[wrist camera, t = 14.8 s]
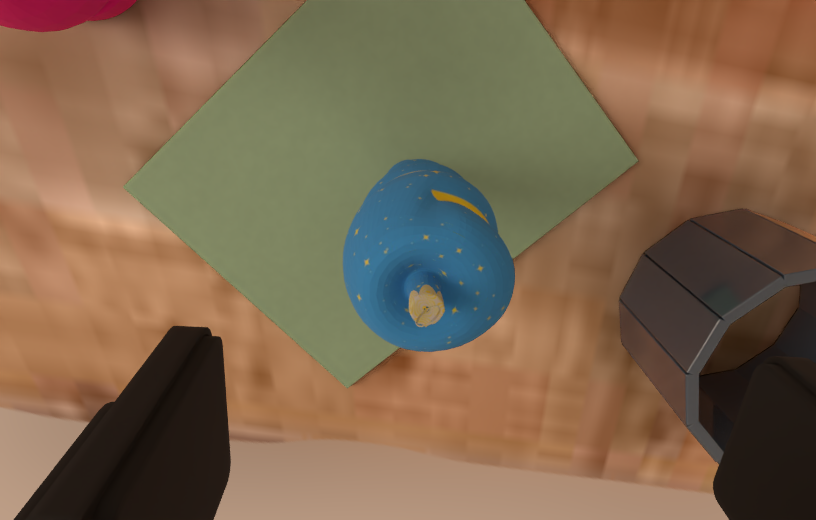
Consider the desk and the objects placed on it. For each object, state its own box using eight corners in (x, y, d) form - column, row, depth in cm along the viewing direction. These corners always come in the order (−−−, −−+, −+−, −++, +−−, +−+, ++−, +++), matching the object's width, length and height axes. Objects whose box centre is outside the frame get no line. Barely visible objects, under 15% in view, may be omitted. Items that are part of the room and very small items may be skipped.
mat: (432, -126, 23) (433, -129, 23) (635, 159, 28) (639, 161, 28) (125, 185, 27) (122, 187, 27) (347, 384, 32) (347, 388, 32)
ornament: (483, 186, 28) (580, 336, 14) (401, 245, 29) (416, 439, 15) (421, 101, 26) (462, 175, 12) (337, 167, 27) (287, 304, 13)
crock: (755, 169, 28) (875, 212, 21) (842, 308, 32) (971, 385, 25) (582, 296, 31) (640, 372, 24) (680, 413, 34) (756, 510, 27)
